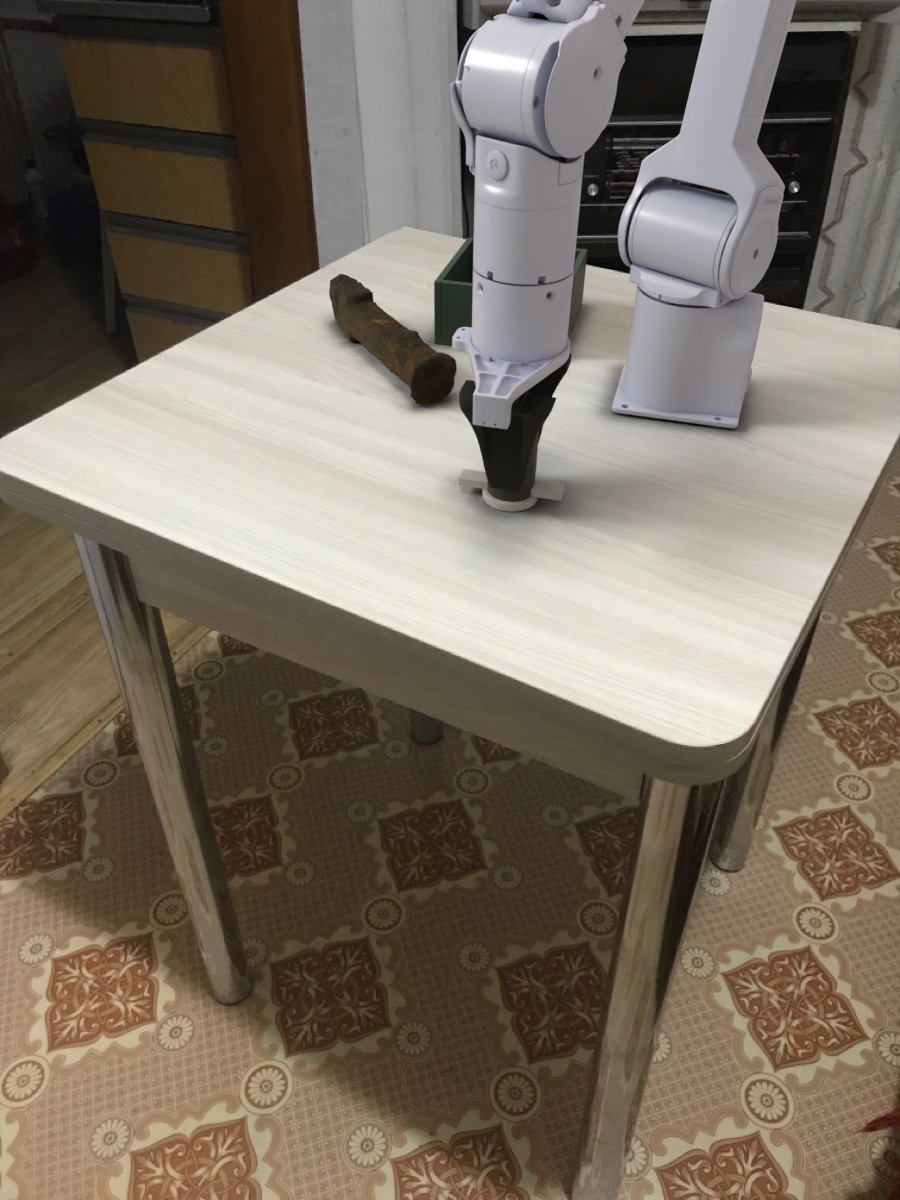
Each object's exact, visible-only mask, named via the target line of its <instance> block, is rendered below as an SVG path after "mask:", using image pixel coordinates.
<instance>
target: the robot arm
mask: <svg viewBox="0 0 900 1200" xmlns="http://www.w3.org/2000/svg"><path fill="white" fill-rule="evenodd" d="M645 1H646V0H511V2H510V4H509V7H508V8H507V10H506V13H501V14H500V13H499V14H496V15H495V16H493V20H489V19H487V20H486V22H485V23H483V24H482V26H481V27H479V28H477V29H476V31H475V32H473V34H472V35H471V36H470V37H469V39H468V40H467V42H466V44H465V46H464V47H463V50H462V52H461V54H460V58H459V62H458V66H457V71H456V79H455V81H453V82H451V83H450V85H449V86H450V87H449V88H450V89H449V90H450V93H449V94H450V102H451V107H452V111H453V114H454V118H455V120H456V122H457V124H458V126H459V128H460V129H461V131H462V133H463V136H464V140H465V166H469V172H470V173H471V174H472V176H474V199H473V200H474V201H473V204H474V205H473V206H474V207H473V238H474V245H473V299H472V328H471V327H461V328H459V329H457V331H456V332H455V334H454V335H453V337H452V345H451V348H452V349H453V350H454V351H458V352H465V353H467V355H468V358H469V362H470V366H471V367H470V368H471V371H472V372H471V373H472V377H473V380H472V379H471V380H470V379H465V381H464V383H463V384H462V386H461V388H460V390H459V393H458V404H459V408H460V411H461V412H462V414H463V415H464V416H465V418H466V419H467V421H468V423H469V424H470V426H471V428H472V431H473V433H474V435H475V437H476V440H477V444H478V446H479V450H480V454H481V459H482V463H483V464H482V465H483V468H484V472H485V473H486V477H487V480H488V483H489V486H490V487H491V488H496V489H503V490H509V491H516V492H519V491H520V490H521V487H522V485H523V482H524V480H525V477H526V474H527V471H528V467H529V463H530V458H531V454H532V450H533V446H534V442H535V439H536V436H537V433H538V432H539V439H538V444H539V443H540V441H541V440H540V439H541V437H542V432H543V430H544V429H543V428H544V426H545V425H544V424H545V423H546V421H547V419H548V418H549V416H550V415H551V413H552V411H553V408H554V406H555V403H556V401H557V397H555V396H554V394H555V392H556V390H557V388H558V386H559V385H560V383H561V381H562V380H563V379H564V377H565V375H566V374H567V373H568V370H569V368H570V366H571V362H572V353H571V352H570V351H571V340H570V337H568V326H569V316H570V305H571V294H572V285H573V274H574V262H575V251H576V248H577V239H578V229H579V217H580V207H581V195H582V187H583V186H582V185H583V175H584V174H583V173H584V165H585V164H584V163H585V153H586V152H587V151H589V150H590V149H591V147H593V146H594V144H595V143H596V141H597V140H598V139H599V138H600V135H601V133H603V131H604V130H605V129H606V127H607V126H608V123H609V122H610V119H611V116H612V113H613V109H614V105H615V102H616V96H617V91H618V83H619V76H620V73H621V71H622V68H623V65H624V64H625V62H626V58H625V56H626V54H627V52H628V48H627V45H626V42H625V41H624V40H625V39H626V37H627V35H628V33H629V30H630V29H631V27H632V25H633V23H634V22H635V20H636V18H637V17H638V14H639V12H640V11H641V9H642V7H643V5H644V3H645ZM796 3H797V0H711V2H710V6H709V10H708V14H707V19H706V22H705V27H704V31H703V35H702V39H701V43H700V47H699V51H698V56H697V59H696V64H695V68H694V72H693V77H692V81H691V85H690V88H689V92H688V98H687V102H686V106H685V109H684V110H685V111H684V114H683V119H682V123H681V126H680V130H679V133H678V135H677V136H675V137H674V138H673V139H671V140H670V141H668V142H667V143H665V144H664V145H662V146H661V147H659V148H657V149H656V150H654V151H653V152H651V153H650V154H648V155H647V156H645V157H644V158H643V159H642V161H641V164H640V168H639V172H638V175H637V178H636V182H635V183H634V187H633V190H632V192H631V194H630V196H629V198H628V200H627V201H626V204H625V205H624V207H623V210H622V213H621V216H620V219H619V223H618V230H617V244H618V251H619V257H620V258H621V261H622V262H623V265H625V266H627V267H628V268H630V269H629V277H628V281H629V282H630V283H633V284H635V285H636V291H635V298H634V305H633V312H632V319H631V320H632V321H631V326H630V332H629V342H628V349H627V356H626V362H625V364H624V365H623V366H622V370H621V374H620V377H619V380H618V384H617V387H616V391H615V395H614V397H613V401H612V405H611V411H612V412H613V413H616V414H622V415H628V416H629V415H631V416H635V417H636V416H637V417H644V418H652V419H659V420H667V421H674V422H682V423H688V424H694V425H695V424H696V425H703V426H711V427H717V428H718V427H720V428H725V429H736V428H738V426H739V423H740V416H741V411H742V408H743V402H744V399H745V395H746V393H748V392H749V389H750V385H751V382H752V376H753V375H752V374H753V368H752V366H753V365H752V364H753V361H754V356H755V352H756V347H757V343H758V339H759V334H760V330H761V329H760V327H761V324H762V318H763V312H764V305H765V296H764V295H763V294H760V293H757V292H752V290H754V289H755V288H756V286H757V285H758V284H759V283H760V282H761V280H762V279H763V278H764V276H765V274H766V272H767V270H768V269H769V267H770V264H771V262H772V259H773V257H774V254H775V251H776V246H777V242H778V238H779V237H778V236H779V219H780V213H781V208H782V204H783V200H784V197H785V195H784V194H785V193H784V192H785V189H786V186H785V184H784V182H783V180H782V178H781V177H780V175H779V173H778V172H777V171H776V169H774V167H773V165H772V164H771V162H769V160H768V159H767V157H766V156H765V154H764V153H763V151H762V150H761V149H760V146H759V144H758V138H759V136H760V135H759V134H760V131H761V128H762V124H763V121H764V116H765V113H766V110H767V106H768V103H769V99H770V96H771V92H772V89H773V85H774V81H775V78H776V75H777V71H778V67H779V64H780V60H781V57H782V53H783V50H784V46H785V42H786V39H787V35H788V31H789V28H790V24H791V21H792V18H793V14H794V11H795V6H796ZM681 182H685V183H690V184H694V185H698V186H702V187H706V188H710V189H715V190H719V191H722V192H725V193H727V194H729V195H730V196H729V195H725V194H721V193H717V192H713V191H709V190H704V189H700V188H696V187H692V186H688V185H684V184H680V183H681ZM528 393H529V394H528Z"/></svg>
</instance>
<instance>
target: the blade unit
mask: <svg viewBox="0 0 900 1200" xmlns="http://www.w3.org/2000/svg"><path fill="white" fill-rule="evenodd" d="M528 394H529V393H528ZM538 439H539V432H538V433H537V436H536V439H535V442H534V446H533V450H532V454H531V458H530V463H529V467H528V471H527V474H526V477H525V480H524V482H523V485H522V487H521V490H520V491H519V492H516V491H509V490H503V489H496V488H491V487H490V486H489V483H488V480H487V477H486V473H485V471H480V470H473V469H467V468H462V469H461V472H460V474H459V476H458V486H463V487H468V488H475V489H481V491H482V492H481V493H482V495H481V496H482V499H483V500H484V502H485V503H486V504H487V505H488V506H490V507H491V508H493V509H496V510H497V511H498V510H499V511H503V512H510V513H511V512H521V511H525V510H528V509H530V508H532V507H534V505H536V504H537V502H538V500H539V499H545V500H552V501H559V502H561V501H562V497H563V495H564V492H565V484H564V483H558V482H553V481H545V480H541V479H540V480H538V479H536V478H537V476H536V475H537V465H538V464H537V463H538V450H539V449H538V448H539V443H538Z"/></svg>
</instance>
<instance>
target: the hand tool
mask: <svg viewBox="0 0 900 1200" xmlns="http://www.w3.org/2000/svg"><path fill="white" fill-rule="evenodd" d="M328 291H329V292H328V294H329V295H328V296H329V299H330V302H331V307H332V313H333V316H334V319H335V322H336V323H337V326H338V328H339V329H340V330H341V332H342V333H343V335H344V337H345V338H346V339H347V341H348V342H352V343H353V342H354V343H357V342H358V343H360V344H361V345H362V347H364V349H366V350H367V352H368V353H369V354H370V355H372V356H374V357H375V358H377V359H378V360H379V361H380V362H381V363H382V364H383V365H384V366H385V368H386V369H388V371H390V373H391V374H393V375H395V376H396V377H398V379H399V380H400V381H401V382H403V383H404V384H406V386H408V387H409V390H410V398H411V399H412V401H414V402H415V403H416V404H417V405H419V406H423V405H426V404H432V403H434V402H437V401H440V400H441V399H443V398H446V397H447V396H448V395H449V394H451V392H452V391H453V389H454V387H455V377H456V375H457V372H458V371H457V367H458V366H457V360H456V359H455V357H453V356H451V355H450V354H448V353H446V352H441V351H439V352H438V351H437V350H435V349H434V348H433V347H432V346H431V345H429V344H428V343H427V342H425V341H424V340H423V339H422V338H421V335H420V333H419V331H417V330H412V329H409V328H408V327H406V326H404V325H403V324H402V323H400V322H399V321H398V320H396V319H395V318H394V317H393V316H392V315H390V314H389V313H387V312H386V311H384V308H381V307H380V305H378V304H377V302H375V301H374V292H373V291H371V289H369V288H368V287H366V286H365V285H363V283H362V282H361V281H358V279H356V278H354V277H350V276H349V275H348V274H343V273H339V274H337V275H336V276H334V277H333V278H332V279H330V281H329V290H328Z"/></svg>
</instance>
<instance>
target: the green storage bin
mask: <svg viewBox="0 0 900 1200" xmlns="http://www.w3.org/2000/svg"><path fill="white" fill-rule="evenodd" d="M473 245H474V237H467V238H466V239H465V241H464V242H463V243H462V244H461V246H460V247H459V249H458V250H457V251H456V252H455V253H454V255H453V257H452V258H450V260H449V262H448V263H447V264H446V266H445V267H444V268H443V269H442V271H440V273H439V274H438V276H437V277H436V279H435V280H434V281H433V300H434V301H433V303H434V305H433V307H434V309H433V312H434V313H433V314H434V315H433V316H434V319H433V320H434V321H433V322H434V344H438V345H446V346H452V337H453V335H454V334H455V332H456V331H457V329H459V328H461V327H471V328H472V299H473ZM588 252H589V251H588V249H587V248H580V247H579V248H578V247H576V251H575V262H574V274H573V285H572V294H571V305H570V316H569V326H568V337H569V338H570V337H571V335H572V332H573V331H574V328H575V325H576V323H577V320H578V318H579V316H580V313H581V311H582V307H583V301H584V300H583V299H584V290H585V282H586V281H585V280H586V270H587V261H588V260H587V259H588Z"/></svg>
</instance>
